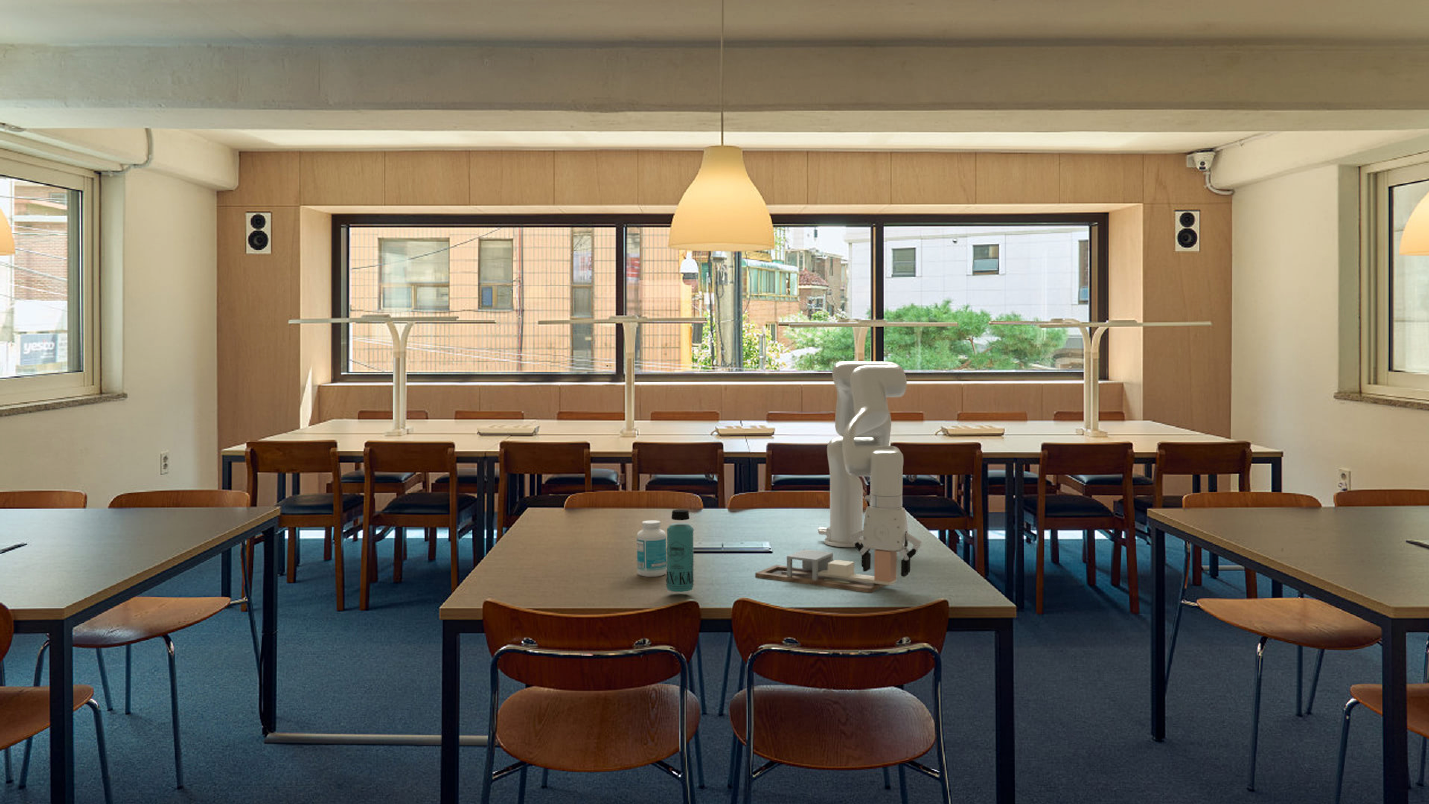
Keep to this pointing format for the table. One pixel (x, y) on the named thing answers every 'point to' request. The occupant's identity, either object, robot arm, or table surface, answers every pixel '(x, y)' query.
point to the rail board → (806, 578)
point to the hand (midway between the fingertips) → (885, 573)
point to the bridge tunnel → (810, 561)
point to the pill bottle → (651, 550)
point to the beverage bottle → (680, 554)
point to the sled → (882, 575)
